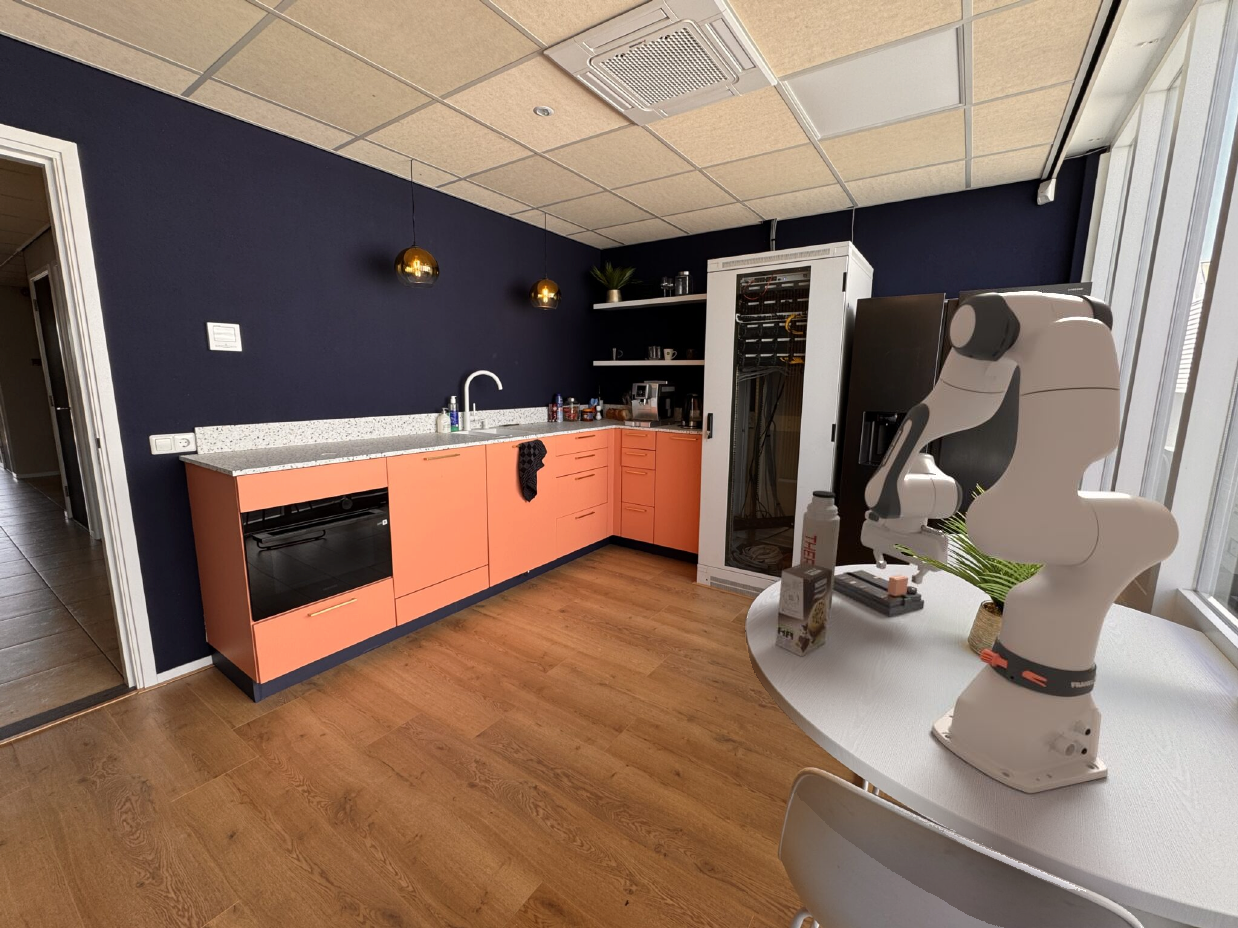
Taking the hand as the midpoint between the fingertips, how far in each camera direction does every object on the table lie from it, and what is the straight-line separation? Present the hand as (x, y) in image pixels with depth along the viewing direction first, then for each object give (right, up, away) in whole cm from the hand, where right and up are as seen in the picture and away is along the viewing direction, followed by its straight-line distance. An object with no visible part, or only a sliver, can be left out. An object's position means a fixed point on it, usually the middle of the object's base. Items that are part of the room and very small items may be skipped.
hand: (898, 575), depth 122 cm
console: (-3, -7, +6) cm, 10 cm away
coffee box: (-29, -11, -17) cm, 35 cm away
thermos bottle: (-20, -8, +2) cm, 21 cm away
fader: (0, -6, +1) cm, 6 cm away
